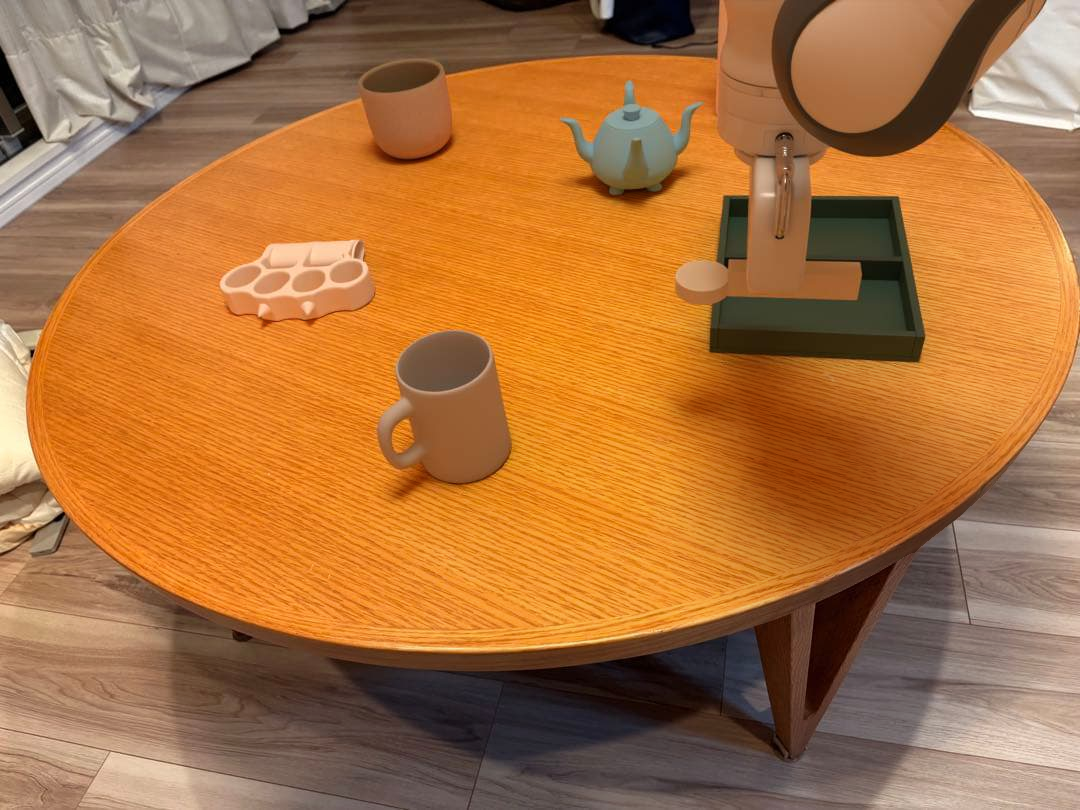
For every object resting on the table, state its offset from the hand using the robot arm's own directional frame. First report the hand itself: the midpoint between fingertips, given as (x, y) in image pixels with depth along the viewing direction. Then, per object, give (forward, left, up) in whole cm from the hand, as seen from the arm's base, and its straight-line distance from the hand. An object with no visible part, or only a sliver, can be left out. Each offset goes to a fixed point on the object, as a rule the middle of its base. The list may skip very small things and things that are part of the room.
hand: (767, 273), depth 65 cm
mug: (+27, +9, -16) cm, 32 cm away
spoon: (0, 0, -2) cm, 2 cm away
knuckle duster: (+53, -16, -16) cm, 57 cm away
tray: (-5, -21, -15) cm, 26 cm away
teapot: (+17, -43, -16) cm, 49 cm away
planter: (+51, -53, -16) cm, 75 cm away
